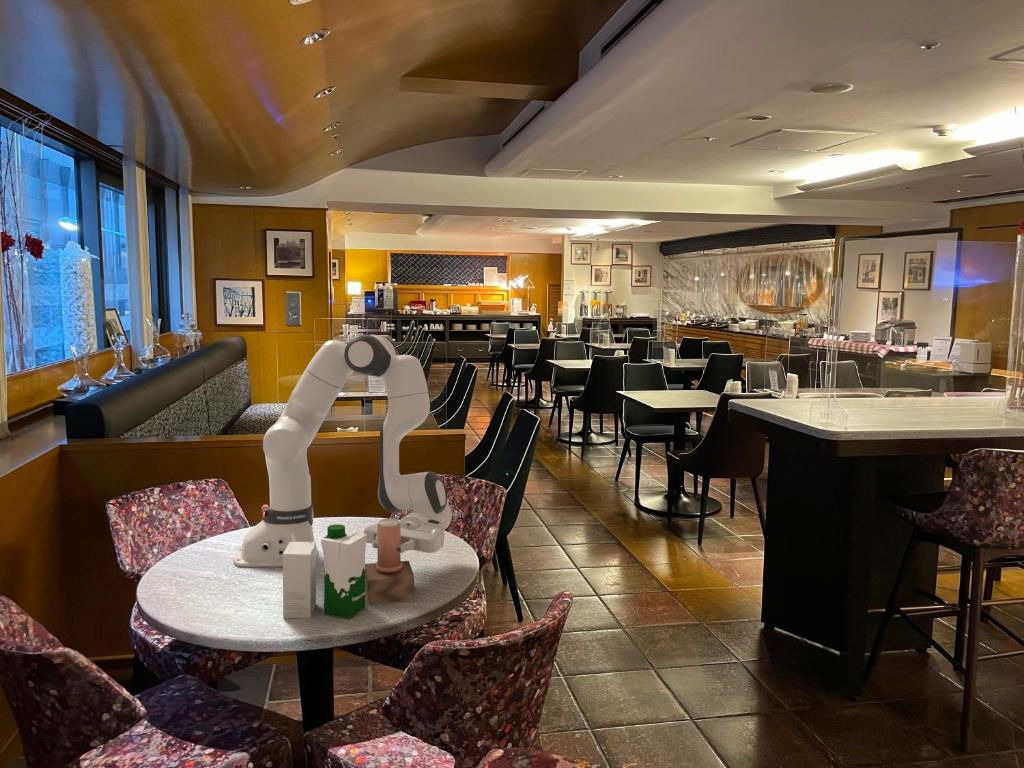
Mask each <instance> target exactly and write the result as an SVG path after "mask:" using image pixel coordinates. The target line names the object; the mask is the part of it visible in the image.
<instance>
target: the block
mask: <svg viewBox="0 0 1024 768" xmlns="http://www.w3.org/2000/svg"><path fill="white" fill-rule="evenodd" d="M401 561H402V563H403V568H402V569H401V570H399V571H397V572H391V573H384V572H379V571H377V570H376V568H375V564H376V562H373V563H370V562H369V563H365V588H366V589H365V595H366V599H367V604H368V605H376V604H377V603H379V604H389V603H388V602H390V603H400V602H410V601H415V574H414V572H413V569H412V566H411V563H410V561H409V560H401Z"/></svg>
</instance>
